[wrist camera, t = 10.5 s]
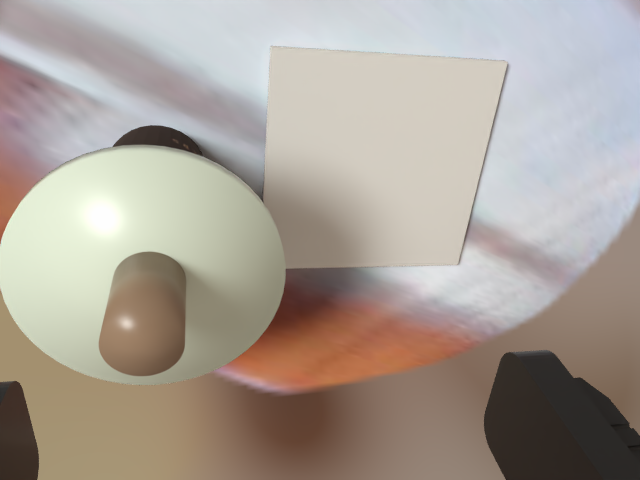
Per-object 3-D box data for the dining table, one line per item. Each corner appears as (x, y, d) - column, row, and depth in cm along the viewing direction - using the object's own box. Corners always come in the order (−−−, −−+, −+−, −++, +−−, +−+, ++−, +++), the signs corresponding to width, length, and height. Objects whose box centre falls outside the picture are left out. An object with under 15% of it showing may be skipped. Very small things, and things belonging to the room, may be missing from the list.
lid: (291, 147, 28) (313, 199, 23) (276, 365, 34) (290, 443, 29) (-23, 140, 25) (-79, 198, 20) (27, 380, 31) (-5, 470, 26)
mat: (504, 60, 38) (507, 62, 38) (455, 261, 46) (457, 264, 45) (270, 45, 35) (271, 47, 34) (259, 265, 42) (260, 269, 42)
